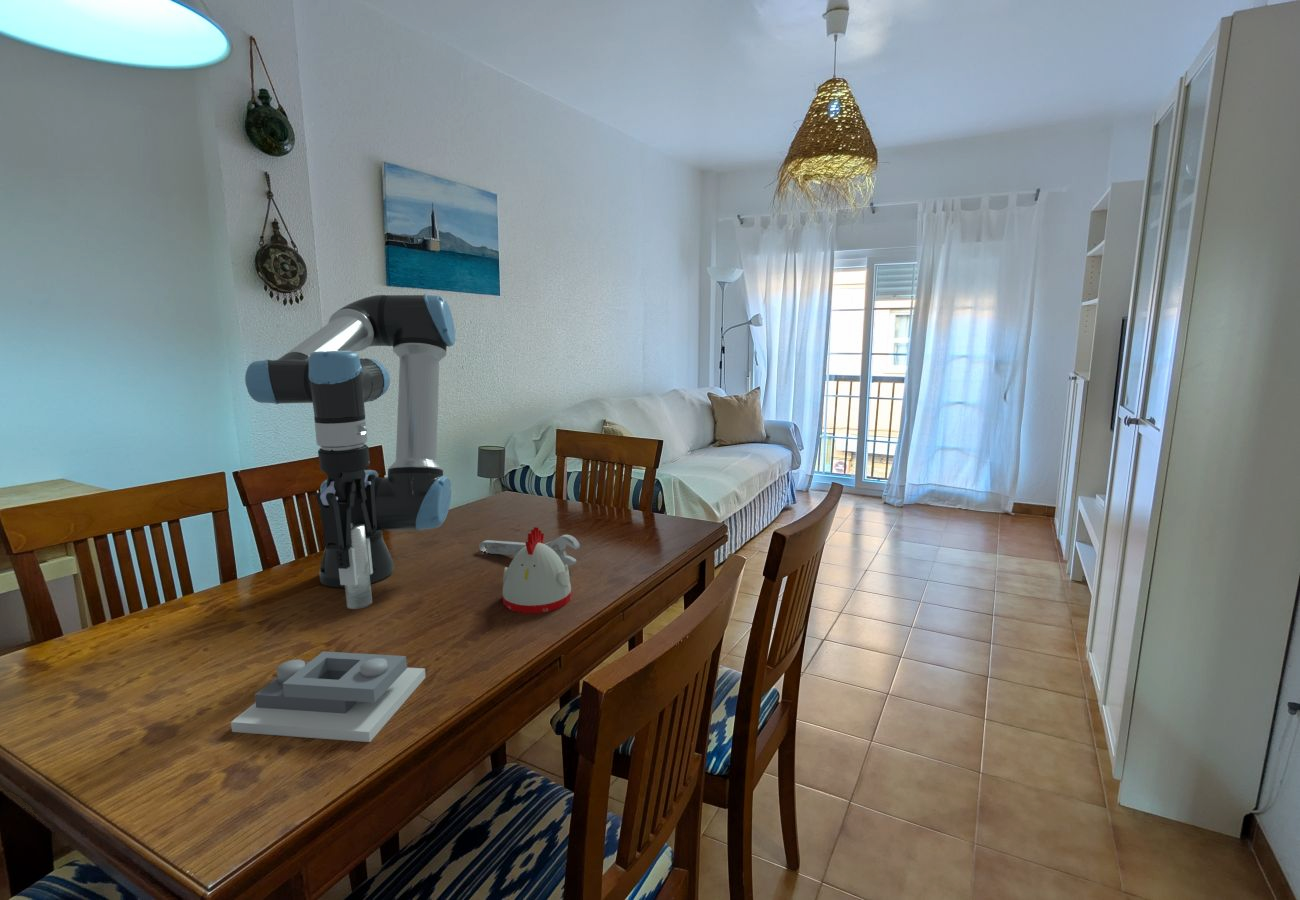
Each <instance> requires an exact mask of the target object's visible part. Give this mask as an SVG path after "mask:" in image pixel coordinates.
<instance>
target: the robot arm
mask: <svg viewBox="0 0 1300 900" xmlns="http://www.w3.org/2000/svg"><path fill="white" fill-rule="evenodd" d="M455 341H456V330H455V323H454V319H453V315H452V310H451V308H450V306H449V303H448V302H447V300H446V299H445V298H444V297H443V296H441V295H433V294H431V295H430V294H408V295H407V294H402V295H401V294H399V295H398V294H391V295H388V294H387V295H386V294H376V295H372V296H366V297H363V298H361V299H358V300H356V301H352V302H351V303H347V304H346V305H345V306H343V307H341V308H339V309H338V310H336V311H335V312H334V313H332V315H330V318H329V319H328V323H327V324H326V325H324V326H322V328H320V329H319V330H317V331H315V332H314V333H313V334H312V335H310V336H309V337H308V338H305V340H303V341H302V342H300V343H299V344H298V345H296V346H294V347H293V348H292V349H291V350H289V351H287V353H285V354H283V355H282V356H281V357H279V358H278V359H275V360H273V359H271V360H270V359H265V360H254V361H253V362H251V363H250V364H249V365H248V366H247V368H246V371H245V376H244V380H245V381H244V382H245V386H246V390H247V392H248V395H249V397H251V399H252V400H254V401H255V402H257V403H262V404H274V405H279V404H312V407H313V415H314V417H313V418H314V430H315V441H316V442H315V443H316V445H317V446H318V447H320V448H319V449H318V450H317V455H318V463H319V465H318V466H319V469H320V471H321V472H323V473H325V475H327V479H325V480H324V481H323V482H322V483H321V485H320V488H319V490H320V491H319V492H317V493H316V494H315V498H316V499H315V500H316V501H317V503H318V505H319V509H320V510H319V512H320V518H321V519H320V520H321V525H322V533H323V539H324V545H325V547H324V551H323V556H322V559H321V563H320V567H319V570H318V571H319V572H318V573H319V582H320V583H321V584H322V585H323V586H326V587H330V588H331V587H332V588H345V585H353V586H356V585H357V584H358V579H357V569H356V559H355V550H354V547H350V546H351V524H352V523H361V524H364V525H365V535H366V545H367V554H368V564H369V574H370V584H374V583H377V582H379V581H381V580H384V579H386V578H388V577H389V576H390V575H392V574H393V572H394V571H395V566H394V559H393V557H392V555H391V553H390V550H389V549H388V547H387V544H386V543H385V540H384V537H383V536H384V535H383V531H407V530H408V531H410V530H412V531H415V530H416V531H423V530H432V529H437V528H440V527H441V526H442V525H443V524H444V522H445V520H446V519H447V516H448V515H449V514H448V513H449V510H450V506H451V501H452V500H451V499H452V483H451V479H450V478H449V477H448V476H446V475H444V468H442V466H441V465H439V463H438V462H437V453H438V452H437V450H438V447H437V446H438V422H439V421H438V418H439V417H438V415H439V385H440V384H439V383H440V382H439V381H440V361H441V360H442V359H443V358H445V357H446V356H447V347H449V348H450V347H452V346H454V345H455ZM368 347H392V351H393V353H394V354H395V355H396V356H397V357H398V358H399V366H398V367H399V369H398V371H399V372H398V395H397V396H398V397H397V416H396V417H397V420H396V421H397V422H396V423H397V425H396V428H397V429H396V443H395V444H396V445H395V447H396V449H395V461H394V463H392V464H391V465H390V466H389V467H388V468H387V477H379V473H378V472H377V471H376V470H374V469H367V468H369V467H370V465H371V461H370V450H369V446H368V445H367V444H365V443H367V442H368V435H367V431H368V427H367V425H366V411H365V410H366V409H365V403H368V402H374V401H375V400H377V399H379V398H380V397H382V396H384V395H385V394H386V392H387V391H388V390H389V387H390V383H391V378H390V373H389V370H387V368H386V367H385V365H384V364H383V363H381V362H380V361H378V360H376V359H373V358H372V359H371V358H368V357H366V358H360V355H359V354H358V353H357V352H361V351H364V350H365V349H367V348H368Z"/></svg>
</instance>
